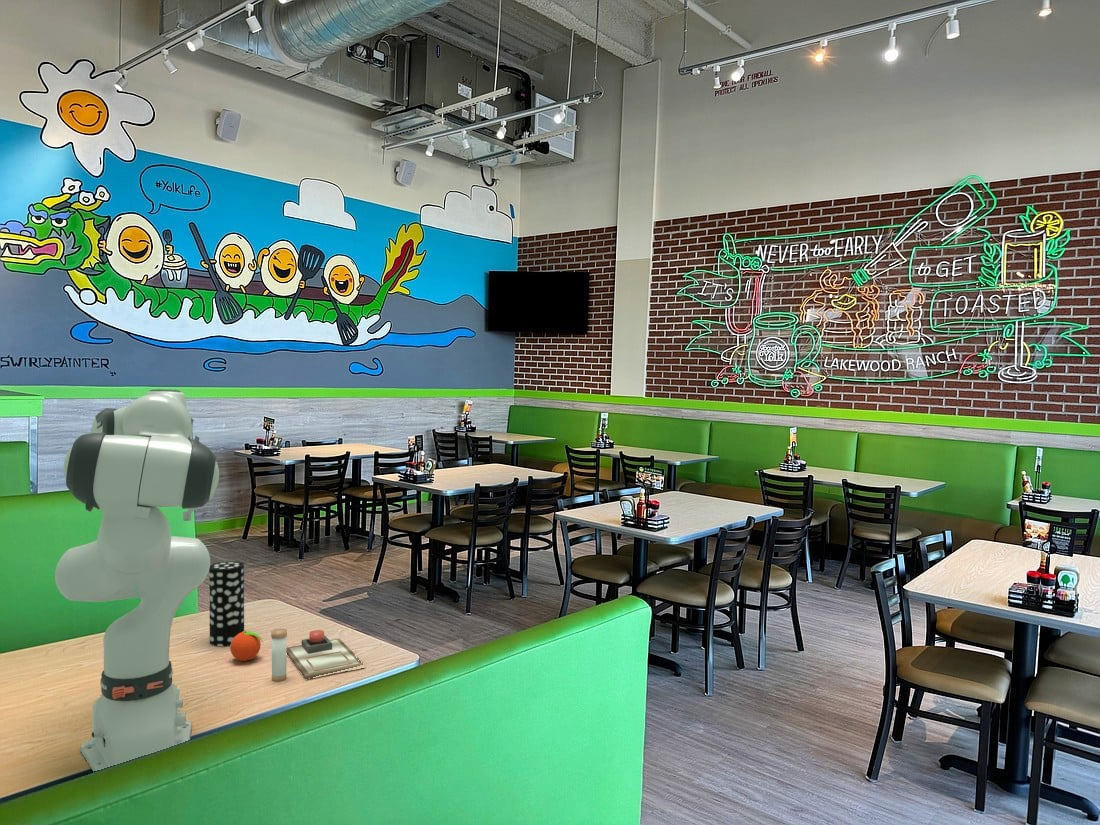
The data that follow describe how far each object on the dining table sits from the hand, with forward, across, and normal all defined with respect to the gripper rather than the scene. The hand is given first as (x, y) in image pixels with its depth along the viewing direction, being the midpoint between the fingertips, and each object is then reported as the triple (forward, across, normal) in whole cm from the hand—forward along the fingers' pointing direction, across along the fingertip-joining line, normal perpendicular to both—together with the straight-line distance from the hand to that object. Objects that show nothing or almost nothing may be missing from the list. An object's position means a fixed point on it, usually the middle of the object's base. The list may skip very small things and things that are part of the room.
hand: (163, 522), depth 170 cm
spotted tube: (+39, +17, +17) cm, 46 cm away
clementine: (+37, +19, +1) cm, 42 cm away
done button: (+34, +35, -2) cm, 48 cm away
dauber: (+36, +23, -14) cm, 44 cm away
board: (+36, +35, -8) cm, 51 cm away
